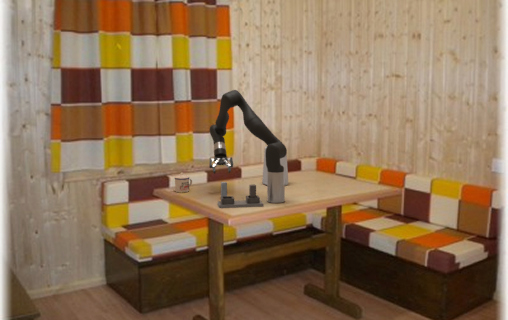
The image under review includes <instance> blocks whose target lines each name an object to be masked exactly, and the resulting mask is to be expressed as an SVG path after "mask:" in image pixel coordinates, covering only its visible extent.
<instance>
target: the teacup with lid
mask: <svg viewBox="0 0 508 320" xmlns="http://www.w3.org/2000/svg"><path fill="white" fill-rule="evenodd" d="M192 184H193V180H192V178H190V176H189V175H186V174H185V173H184V172H180V174H177V175H176V176H175V177H174V187H175V188H174V190H175V192H176V193H178V192H185V193H188V191H189V192H190V187H191V186H192Z"/></svg>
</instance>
